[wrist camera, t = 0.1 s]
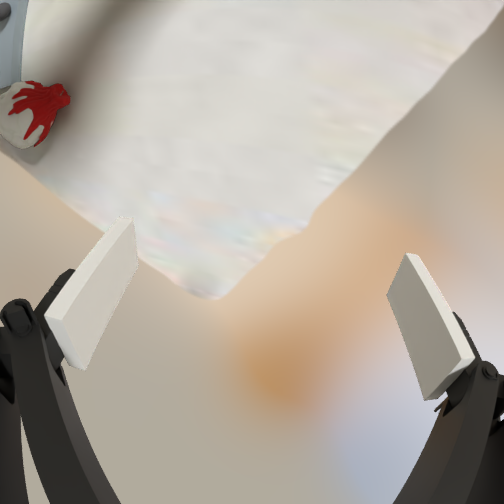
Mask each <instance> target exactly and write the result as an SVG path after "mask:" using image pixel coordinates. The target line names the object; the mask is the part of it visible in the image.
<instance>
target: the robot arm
mask: <svg viewBox="0 0 504 504" xmlns="http://www.w3.org/2000/svg"><path fill="white" fill-rule="evenodd" d="M138 266H139V265H138V256H137V247H136V238H135V227H134V218H127V217H119V218H118V219H117V220H116V221H115V222H114V223H113V225H112V226H111V227H110V228H109V229H108V231H107V232H106V233H105V234H104V236H103V237H102V238H101V239H100V240H99V241H98V243H97V244H96V245H95V246H94V248H93V249H92V250H91V251H90V253H89V254H88V255H87V256H86V258H85V259H84V260H83V261H82V263H81V264H80V265H79V267H78V268H77V269H76V270H74V269H68V270H67V271H66V272H64V273H63V274H61V275H60V276H59V277H58V279H57V280H56V281H55V283H54V285H53V286H52V287H51V288H50V289H49V292H48V293H46V295H45V296H44V298H43V299H42V300H41V302H40V303H39V304H38V306H37V307H36V309H35V310H34V311H33V309H32V307H31V305H30V303H29V302H28V301H27V300H26V299H15V300H12V301H10V302H8V303H7V304H6V305H5V306H4V307H3V309H2V310H1V312H0V319H1V321H2V323H3V325H4V327H0V504H29V501H28V495H27V489H26V483H25V475H24V467H23V457H22V443H21V417H22V422H23V426H24V430H25V434H26V437H27V441H28V444H29V448H30V451H31V454H32V457H33V460H34V463H35V466H36V469H37V472H38V475H39V477H40V480H41V483H42V485H43V488H44V490H45V493H46V495H47V498H48V500H49V502H50V504H121V503H120V501H119V499H118V498H117V496H116V494H115V492H114V491H113V489H112V487H111V486H110V483H109V482H108V480H107V478H106V476H105V474H104V472H103V470H102V468H101V466H100V464H99V462H98V460H97V458H96V456H95V453H94V451H93V449H92V447H91V445H90V442H89V440H88V438H87V435H86V433H85V430H84V428H83V426H82V423H81V421H80V418H79V415H78V413H77V410H76V407H75V404H74V402H73V399H72V396H71V393H70V390H69V387H68V384H67V380H66V377H65V374H64V370H63V368H62V366H61V362H62V360H63V358H64V357H65V359H66V361H67V363H68V364H69V366H72V367H75V368H78V369H81V370H86V369H87V366H88V364H89V362H90V360H91V358H92V355H93V353H94V351H95V349H96V347H97V345H98V343H99V341H100V338H101V337H102V335H103V333H104V330H105V328H106V326H107V324H108V322H109V321H110V318H111V317H112V314H113V313H114V311H115V309H116V307H117V304H118V303H119V301H120V299H121V297H122V296H123V294H124V292H125V290H126V288H127V286H128V284H129V283H130V281H131V279H132V277H133V275H134V274H135V272H136V270H137V268H138ZM387 297H388V300H389V302H390V305H391V307H392V310H393V313H394V315H395V318H396V320H397V323H398V325H399V328H400V330H401V333H402V336H403V338H404V341H405V344H406V347H407V350H408V352H409V355H410V358H411V361H412V363H413V367H414V370H415V373H416V376H417V379H418V382H419V385H420V388H421V391H422V395H423V398H424V401H425V400H432V399H438V398H439V397H440V396H441V395H442V394H443V393H444V392H445V391H446V392H447V395H448V397H447V398H446V399H445V400H444V401H443V402H442V403H441V404H440V405H439V406H438V407H437V408H436V409H435V410H434V412H437V410H439V409H440V408H441V410H440V412H439V415H438V417H437V420H436V422H435V424H434V427H433V429H432V431H431V434H430V436H429V438H428V440H427V442H426V444H425V447H424V449H423V451H422V453H421V455H420V457H419V459H418V461H417V463H416V465H415V466H414V468H413V470H412V472H411V474H410V476H409V477H408V479H407V481H406V483H405V485H404V487H403V488H402V490H401V492H400V493H399V495H398V496H397V498H396V500H395V501H394V503H393V504H504V419H503V420H502V421H501V420H500V416H501V415H502V414H503V413H504V375H500V374H499V373H498V371H497V369H496V368H495V366H494V365H493V364H491V363H490V362H488V361H482V359H481V357H480V355H479V353H478V351H477V349H476V347H475V345H474V343H473V341H472V339H471V337H469V333H468V331H467V330H466V327H465V326H464V324H463V322H462V320H461V319H460V318H459V317H458V316H457V314H456V313H455V312H452V311H451V309H450V308H449V306H448V304H447V302H446V300H445V299H444V297H443V295H442V293H441V292H440V290H439V288H438V287H437V285H436V283H435V282H434V280H433V279H432V277H431V275H430V274H429V272H428V270H427V269H426V267H425V266H424V264H423V263H422V261H421V259H420V258H419V256H418V255H417V254H410V253H405V255H404V257H403V260H402V262H401V264H400V267H399V269H398V271H397V273H396V276H395V278H394V280H393V282H392V284H391V286H390V288H389V291H388V293H387Z"/></svg>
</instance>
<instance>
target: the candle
mask: <svg viewBox="0 0 504 504" xmlns="http://www.w3.org/2000/svg"><path fill="white" fill-rule="evenodd" d="M69 103H70V96H69V95H68V94H67V92H66V90H65V89H64V88H63V86H62V84H54V85H52V86H50V87H43V86H42V85H41V83H37V82H34V81H26V82H16V83H14V84H13V85H12V86H11V87H10V89H9V90H8V91H7V92H5V93H3V94H1V95H0V133H1V135H2V136H3V137H4V138H5V139H6V140H7V141H8V142H9V143H10V144H12V145H13V146H15V147H17V148H20V149H25V148H28V147H30V146H32V145H34V144H35V145H34V147H35V146H37V145H38V144H39V143H41V142H42V141H43V140H44V139H45V138H46V136H47V134H48V133H49V131H50V127H51V126H52V125H53V122H54V119H55V117H56V114H57V110H58V109H60V108H63V107H64V106H66V105H69Z"/></svg>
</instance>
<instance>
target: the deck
mask: <svg viewBox="0 0 504 504" xmlns="http://www.w3.org/2000/svg"><path fill="white" fill-rule="evenodd" d="M3 2H6V3H9V4H10V6H11V11H10V14H9V15H8V17H7V18H6V19H4V20H3V21H0V89H1V88H5V87H8V86H11V85H13V84H14V83H16V82H21V61H22V46H23V35H24V26H25V19H26V12H27V6H28V0H0V3H3Z"/></svg>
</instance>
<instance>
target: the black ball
mask: <svg viewBox="0 0 504 504" xmlns="http://www.w3.org/2000/svg"><path fill="white" fill-rule="evenodd" d="M10 11H11V6H10V4H9V3H6V2H3V3H0V21H3V20H4V19H6V18H7V17H8V15H9V14H10Z"/></svg>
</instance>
